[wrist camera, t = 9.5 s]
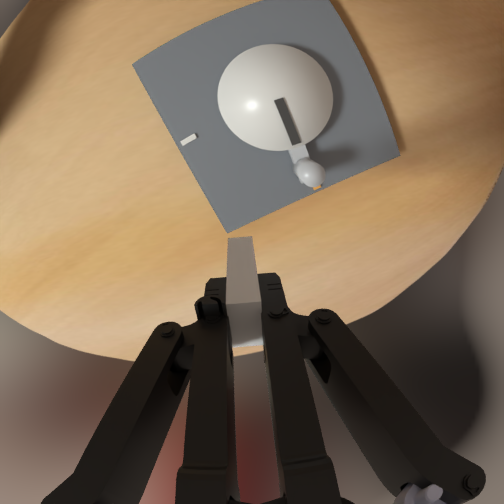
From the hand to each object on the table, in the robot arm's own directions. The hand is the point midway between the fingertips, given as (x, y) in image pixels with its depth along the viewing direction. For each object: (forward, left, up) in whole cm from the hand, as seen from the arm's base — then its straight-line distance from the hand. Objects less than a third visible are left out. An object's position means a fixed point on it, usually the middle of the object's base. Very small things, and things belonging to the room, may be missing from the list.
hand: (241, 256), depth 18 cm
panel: (-9, +8, -17) cm, 21 cm away
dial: (-7, +8, -15) cm, 18 cm away
